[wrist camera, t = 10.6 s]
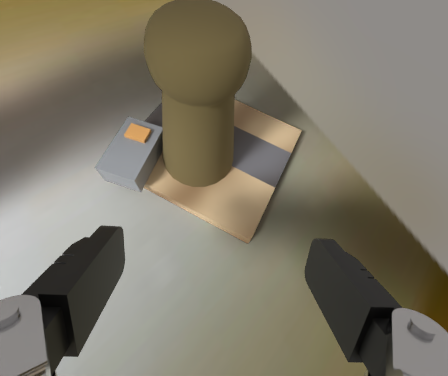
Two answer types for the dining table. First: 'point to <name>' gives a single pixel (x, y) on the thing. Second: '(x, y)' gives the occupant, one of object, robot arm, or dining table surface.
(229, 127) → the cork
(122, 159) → the block
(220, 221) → the plywood board
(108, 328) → the dining table surface
